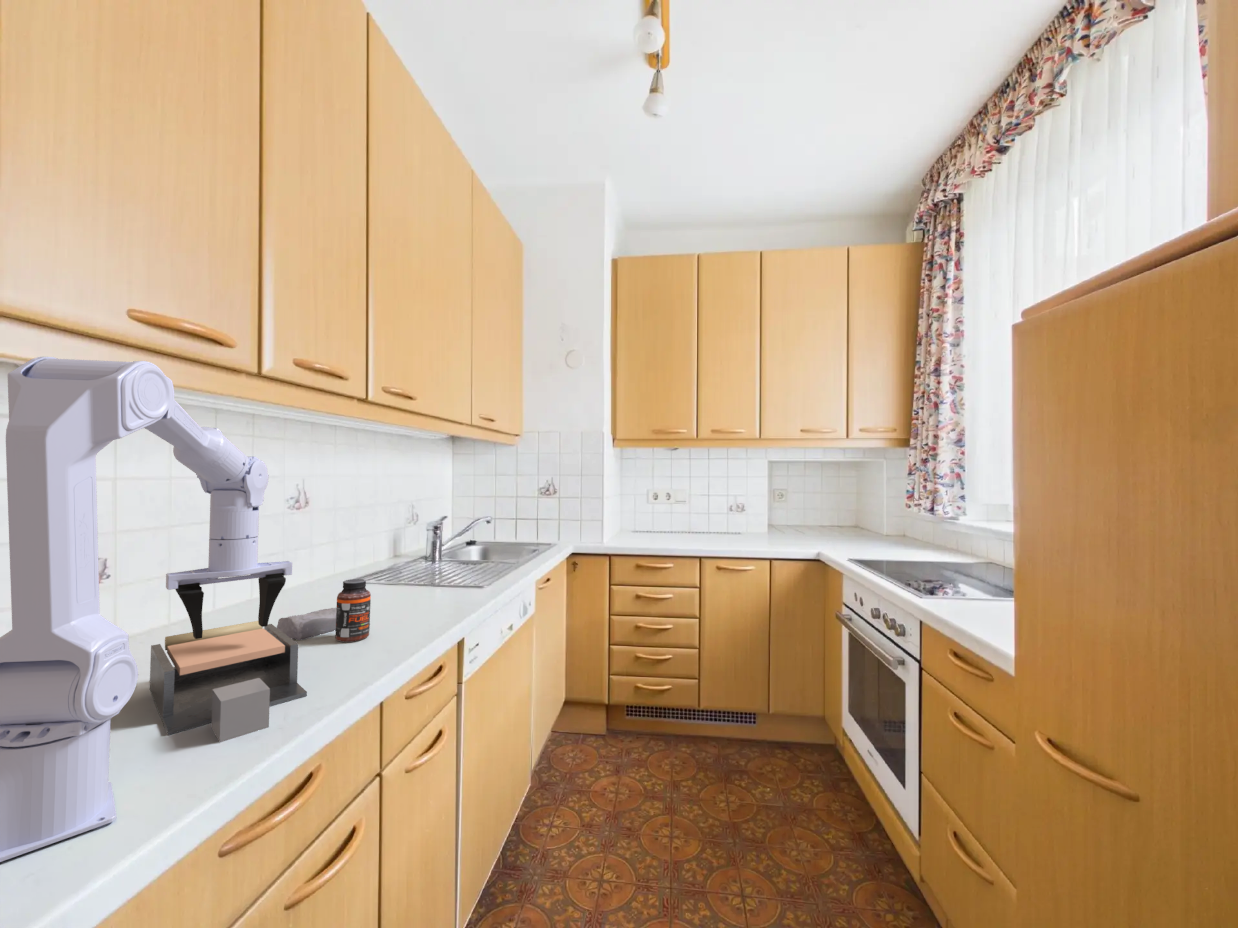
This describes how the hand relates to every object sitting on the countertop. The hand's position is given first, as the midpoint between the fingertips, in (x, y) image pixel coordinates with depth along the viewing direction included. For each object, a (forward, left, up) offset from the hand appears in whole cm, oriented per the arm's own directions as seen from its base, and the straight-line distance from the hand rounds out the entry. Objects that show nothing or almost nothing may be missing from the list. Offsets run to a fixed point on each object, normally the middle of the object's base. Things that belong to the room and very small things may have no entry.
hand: (231, 630), depth 73 cm
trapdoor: (0, +4, -4) cm, 6 cm away
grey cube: (-1, -12, -10) cm, 15 cm away
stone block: (+19, +26, -10) cm, 33 cm away
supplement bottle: (+22, +14, -10) cm, 28 cm away
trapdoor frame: (0, +1, -9) cm, 10 cm away
